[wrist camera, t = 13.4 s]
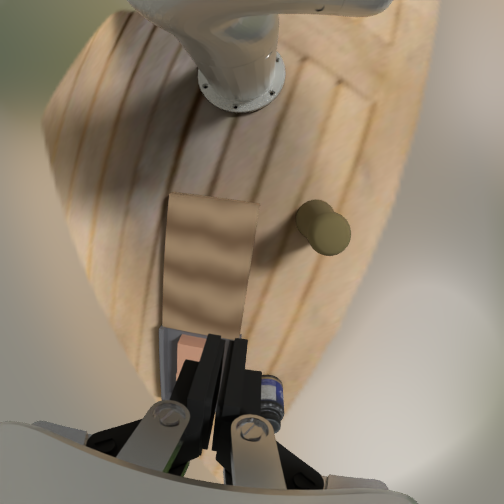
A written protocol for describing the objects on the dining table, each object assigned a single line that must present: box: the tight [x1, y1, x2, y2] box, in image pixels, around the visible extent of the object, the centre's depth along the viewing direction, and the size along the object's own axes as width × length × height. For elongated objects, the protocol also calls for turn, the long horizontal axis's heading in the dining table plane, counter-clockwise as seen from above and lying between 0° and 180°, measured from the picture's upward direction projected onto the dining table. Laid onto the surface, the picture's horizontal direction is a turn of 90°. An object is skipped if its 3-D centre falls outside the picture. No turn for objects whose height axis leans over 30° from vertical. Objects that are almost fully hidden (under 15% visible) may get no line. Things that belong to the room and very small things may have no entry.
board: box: [162, 192, 260, 340], centre depth 44 cm, size 22×13×2 cm, turn 172°
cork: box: [296, 200, 351, 256], centre depth 37 cm, size 6×6×11 cm
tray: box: [159, 325, 242, 412], centre depth 49 cm, size 18×14×3 cm
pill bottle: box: [261, 375, 284, 434], centre depth 46 cm, size 6×6×11 cm
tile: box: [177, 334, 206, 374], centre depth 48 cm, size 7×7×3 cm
